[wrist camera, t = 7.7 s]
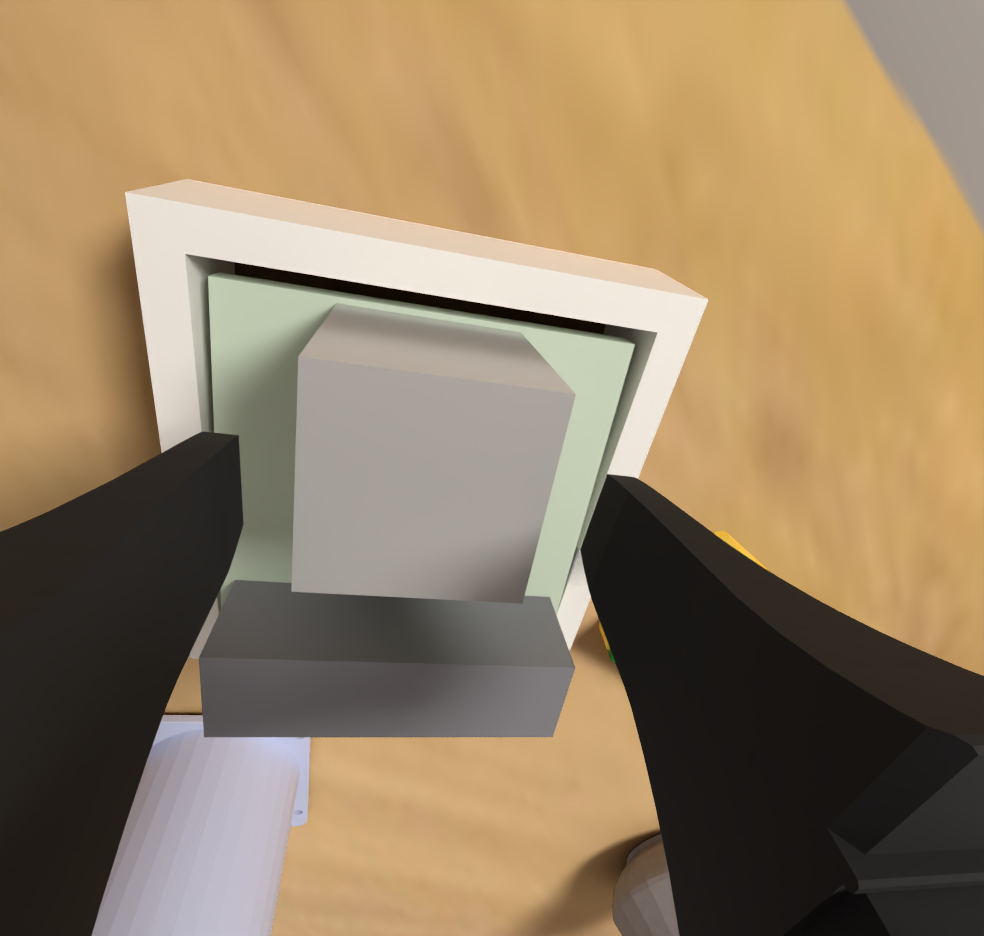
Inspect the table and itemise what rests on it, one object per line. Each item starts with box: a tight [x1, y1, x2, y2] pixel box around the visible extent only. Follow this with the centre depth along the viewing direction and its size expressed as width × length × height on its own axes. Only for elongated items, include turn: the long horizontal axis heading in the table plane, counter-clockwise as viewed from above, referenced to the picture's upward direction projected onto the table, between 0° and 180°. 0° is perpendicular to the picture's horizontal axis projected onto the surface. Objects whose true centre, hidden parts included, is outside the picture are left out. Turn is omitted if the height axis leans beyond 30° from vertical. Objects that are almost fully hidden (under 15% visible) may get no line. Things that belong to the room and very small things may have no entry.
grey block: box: [291, 303, 576, 604], centre depth 12 cm, size 4×4×5 cm
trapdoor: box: [199, 272, 635, 737], centre depth 14 cm, size 11×10×4 cm
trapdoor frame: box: [125, 179, 708, 659], centre depth 17 cm, size 14×13×4 cm
